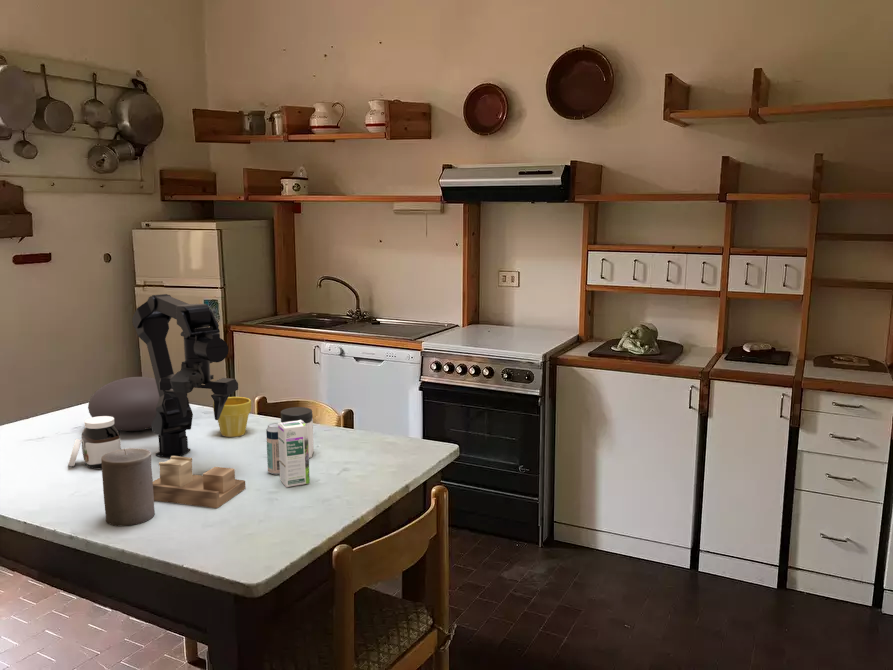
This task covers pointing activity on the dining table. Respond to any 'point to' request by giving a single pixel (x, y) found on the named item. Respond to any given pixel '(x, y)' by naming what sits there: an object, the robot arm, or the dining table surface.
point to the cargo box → (219, 479)
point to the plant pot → (234, 416)
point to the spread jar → (96, 441)
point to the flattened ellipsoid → (127, 402)
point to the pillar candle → (127, 486)
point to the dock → (195, 493)
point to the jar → (305, 416)
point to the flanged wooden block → (176, 471)
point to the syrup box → (293, 453)
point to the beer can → (273, 449)
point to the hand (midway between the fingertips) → (200, 418)
